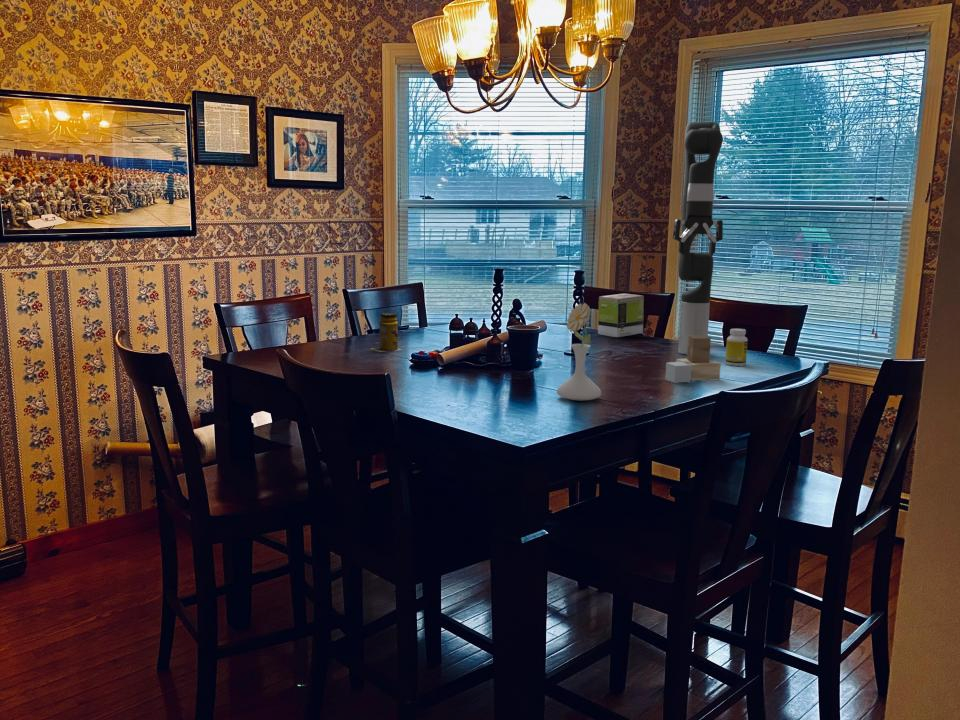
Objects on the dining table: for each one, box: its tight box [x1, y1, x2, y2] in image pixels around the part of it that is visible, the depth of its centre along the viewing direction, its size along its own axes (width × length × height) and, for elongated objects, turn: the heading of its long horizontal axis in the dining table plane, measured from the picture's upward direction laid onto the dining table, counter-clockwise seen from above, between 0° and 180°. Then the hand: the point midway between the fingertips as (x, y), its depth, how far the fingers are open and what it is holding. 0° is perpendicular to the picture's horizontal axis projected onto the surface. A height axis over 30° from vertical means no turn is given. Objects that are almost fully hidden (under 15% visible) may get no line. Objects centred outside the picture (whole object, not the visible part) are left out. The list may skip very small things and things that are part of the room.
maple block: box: [675, 357, 722, 382], centre depth 242 cm, size 9×9×5 cm
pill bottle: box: [724, 328, 749, 367], centre depth 260 cm, size 6×6×11 cm
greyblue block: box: [664, 361, 691, 384], centre depth 236 cm, size 5×5×5 cm
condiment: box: [369, 312, 403, 353], centre depth 278 cm, size 7×8×12 cm
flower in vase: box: [556, 302, 603, 402], centre depth 211 cm, size 13×11×25 cm
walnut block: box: [686, 336, 711, 363], centre depth 241 cm, size 5×5×7 cm
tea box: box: [597, 293, 645, 338], centre depth 316 cm, size 15×10×15 cm, turn 130°
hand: (696, 255), depth 249 cm, fingers open, 8 cm apart
